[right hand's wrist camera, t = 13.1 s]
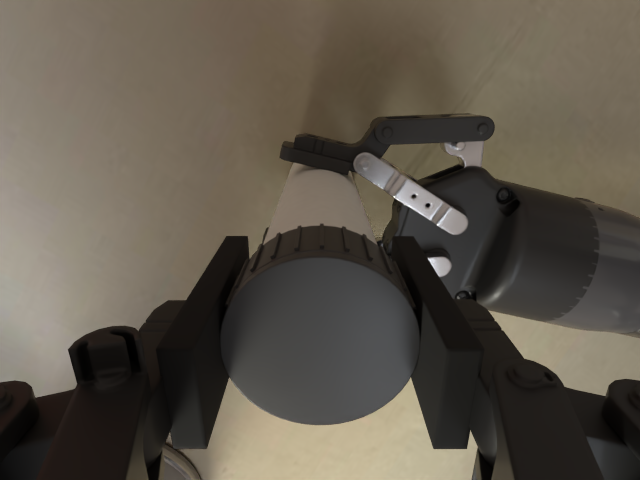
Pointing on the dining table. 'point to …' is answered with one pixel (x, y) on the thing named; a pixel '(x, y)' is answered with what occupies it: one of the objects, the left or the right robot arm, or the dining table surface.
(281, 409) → the lid
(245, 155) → the dining table surface
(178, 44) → the dining table surface
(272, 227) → the bottle
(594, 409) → the right robot arm
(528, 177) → the dining table surface
